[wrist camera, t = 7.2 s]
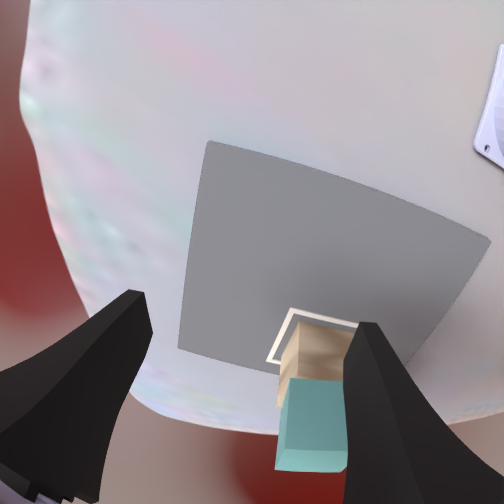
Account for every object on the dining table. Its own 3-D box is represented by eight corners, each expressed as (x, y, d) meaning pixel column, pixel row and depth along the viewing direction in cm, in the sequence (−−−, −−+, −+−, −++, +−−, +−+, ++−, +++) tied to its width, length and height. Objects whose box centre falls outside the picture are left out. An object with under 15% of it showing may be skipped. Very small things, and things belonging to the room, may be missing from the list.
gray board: (487, 237, 17) (491, 242, 16) (378, 386, 26) (379, 392, 26) (209, 140, 16) (206, 143, 16) (179, 343, 26) (177, 349, 25)
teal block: (358, 382, 17) (363, 450, 13) (339, 413, 20) (340, 472, 15) (290, 377, 18) (284, 448, 13) (281, 409, 20) (274, 469, 16)
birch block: (353, 332, 22) (360, 386, 17) (330, 366, 24) (332, 415, 20) (299, 320, 22) (297, 375, 17) (281, 356, 24) (276, 406, 20)
